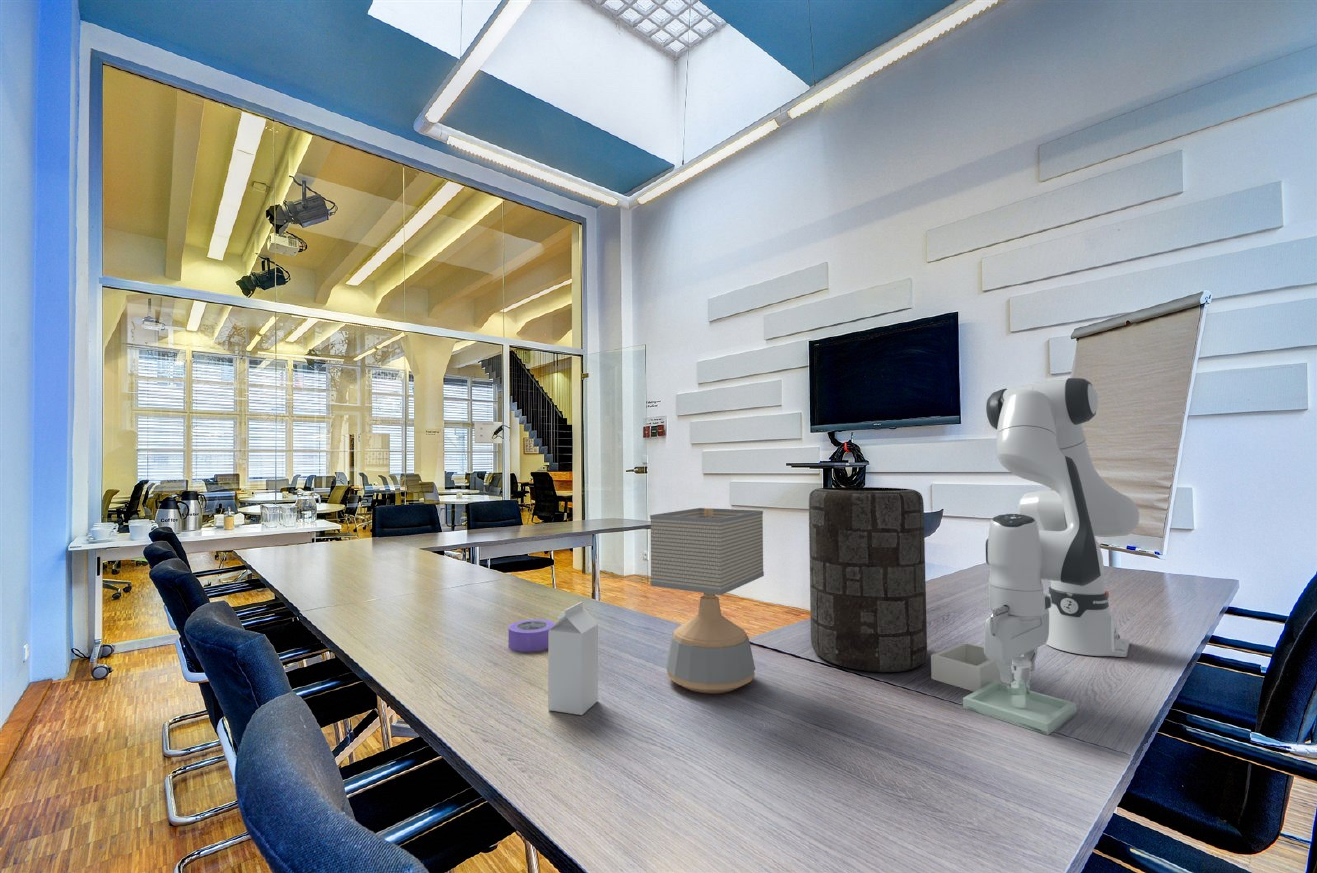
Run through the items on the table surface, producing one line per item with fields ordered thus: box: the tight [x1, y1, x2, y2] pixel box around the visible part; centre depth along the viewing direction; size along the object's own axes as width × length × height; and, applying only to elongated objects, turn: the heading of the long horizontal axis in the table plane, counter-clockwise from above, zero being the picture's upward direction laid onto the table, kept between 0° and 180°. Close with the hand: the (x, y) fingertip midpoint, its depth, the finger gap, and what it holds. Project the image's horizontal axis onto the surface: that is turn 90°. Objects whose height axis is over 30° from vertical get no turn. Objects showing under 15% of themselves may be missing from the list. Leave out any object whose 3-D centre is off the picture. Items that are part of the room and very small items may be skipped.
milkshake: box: [1006, 652, 1035, 709], centre depth 109 cm, size 4×5×10 cm
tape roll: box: [507, 618, 556, 653], centre depth 148 cm, size 12×12×5 cm
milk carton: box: [547, 601, 599, 716], centre depth 111 cm, size 7×7×19 cm
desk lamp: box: [649, 507, 765, 695], centre depth 123 cm, size 22×19×37 cm
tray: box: [962, 681, 1078, 736], centre depth 108 cm, size 14×14×2 cm
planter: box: [808, 486, 928, 673], centre depth 140 cm, size 26×26×40 cm
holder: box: [930, 641, 1003, 693], centre depth 124 cm, size 15×10×5 cm, turn 127°
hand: (1018, 676), depth 108 cm, fingers open, 8 cm apart
